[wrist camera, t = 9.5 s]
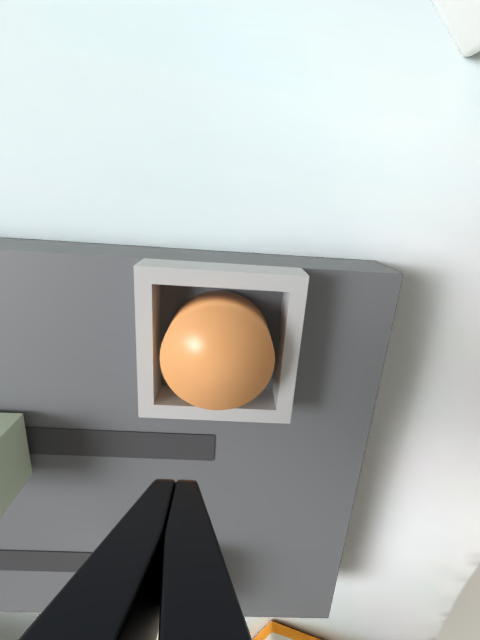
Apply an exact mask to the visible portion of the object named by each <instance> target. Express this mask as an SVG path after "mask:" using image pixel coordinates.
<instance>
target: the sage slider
mask: <svg viewBox="0 0 480 640" xmlns="http://www.w3.org/2000/svg"><path fill="white" fill-rule="evenodd" d="M31 475H32V467H31V461H30V455H29V448H28V442H27V436H26V429H25V423H24V416H23V413H0V518H1V517H2V515H3V514H4V513H5V511H6V510H7V508H8V507H9V506H10V504H11V503H12V501H13V500H14V499H15V497H16V496H17V494H18V493H19V492H20V490H21V489H22V488H23V486H24V485H25V483H26V482H27V481H28V479H29V478H30V476H31Z"/></svg>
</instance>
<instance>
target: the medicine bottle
mask: <svg viewBox="0 0 480 640" xmlns="http://www.w3.org/2000/svg"><path fill="white" fill-rule="evenodd" d="M431 1H432V3H433V5H434V7H435V9H436V10H437V12H438V14H439V16H440V18H441V19H442V21H443V23H444V25H445V27H446V28H447V30H448V32H449V34H450V36H451V37H452V39H453V41H454V43H455V45H456V46H457V48H458V50H459V52H460V53H461V54H462V55H463V56H467V57H469V56H472V55H474V54H476V53H478V52H479V51H480V0H431Z"/></svg>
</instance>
